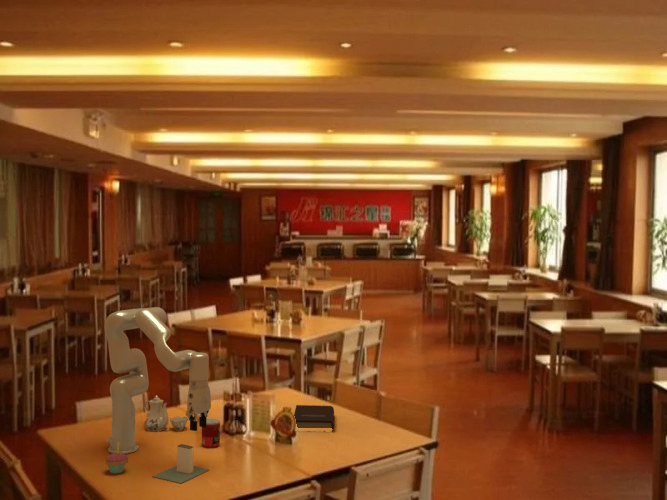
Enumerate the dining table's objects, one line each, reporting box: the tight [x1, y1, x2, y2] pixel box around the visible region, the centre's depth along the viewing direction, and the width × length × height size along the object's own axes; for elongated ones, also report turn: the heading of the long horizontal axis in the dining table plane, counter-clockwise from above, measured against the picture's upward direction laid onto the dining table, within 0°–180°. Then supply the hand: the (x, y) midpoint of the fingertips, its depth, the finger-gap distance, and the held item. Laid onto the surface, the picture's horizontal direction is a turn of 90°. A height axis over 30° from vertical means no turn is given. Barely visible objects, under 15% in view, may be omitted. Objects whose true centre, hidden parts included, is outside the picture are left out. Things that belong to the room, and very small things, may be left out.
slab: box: [176, 443, 195, 474], centre depth 277 cm, size 6×3×10 cm, turn 62°
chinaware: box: [143, 394, 189, 432], centre depth 337 cm, size 28×17×17 cm, turn 56°
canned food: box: [201, 418, 221, 449], centre depth 311 cm, size 8×8×11 cm
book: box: [293, 404, 335, 429], centre depth 348 cm, size 28×20×6 cm
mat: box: [152, 465, 210, 485], centre depth 275 cm, size 14×17×1 cm
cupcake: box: [104, 440, 129, 475], centre depth 276 cm, size 9×8×12 cm
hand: (198, 428), depth 284 cm, fingers open, 5 cm apart
